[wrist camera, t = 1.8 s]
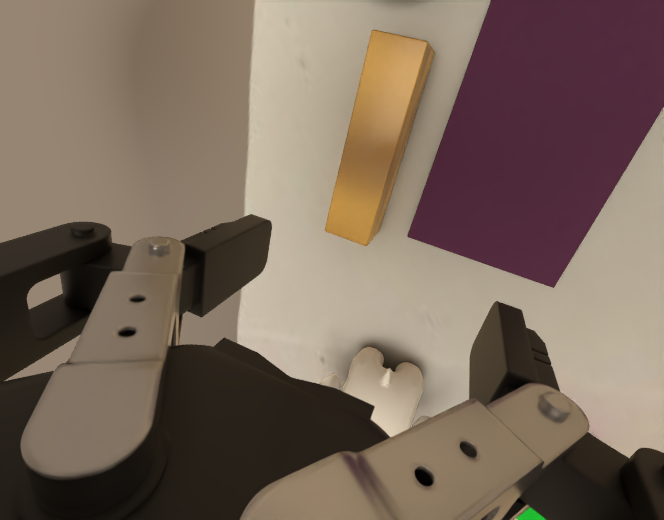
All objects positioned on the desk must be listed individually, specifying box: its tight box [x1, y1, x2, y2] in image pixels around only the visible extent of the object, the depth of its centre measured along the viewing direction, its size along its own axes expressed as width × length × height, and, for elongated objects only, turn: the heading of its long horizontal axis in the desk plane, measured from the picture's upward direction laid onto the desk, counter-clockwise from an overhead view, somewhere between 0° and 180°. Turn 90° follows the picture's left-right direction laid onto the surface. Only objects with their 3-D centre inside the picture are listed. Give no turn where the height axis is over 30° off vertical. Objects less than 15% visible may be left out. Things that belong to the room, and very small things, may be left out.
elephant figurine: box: [320, 347, 431, 437], centre depth 30 cm, size 10×12×9 cm
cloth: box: [408, 0, 664, 288], centre depth 22 cm, size 20×11×1 cm, turn 166°
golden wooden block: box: [325, 30, 435, 246], centre depth 25 cm, size 13×3×4 cm, turn 166°
